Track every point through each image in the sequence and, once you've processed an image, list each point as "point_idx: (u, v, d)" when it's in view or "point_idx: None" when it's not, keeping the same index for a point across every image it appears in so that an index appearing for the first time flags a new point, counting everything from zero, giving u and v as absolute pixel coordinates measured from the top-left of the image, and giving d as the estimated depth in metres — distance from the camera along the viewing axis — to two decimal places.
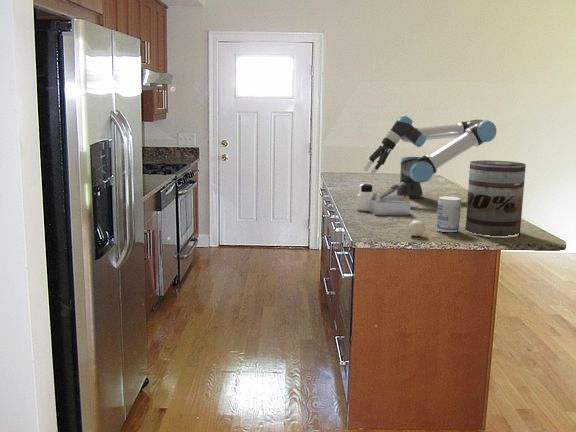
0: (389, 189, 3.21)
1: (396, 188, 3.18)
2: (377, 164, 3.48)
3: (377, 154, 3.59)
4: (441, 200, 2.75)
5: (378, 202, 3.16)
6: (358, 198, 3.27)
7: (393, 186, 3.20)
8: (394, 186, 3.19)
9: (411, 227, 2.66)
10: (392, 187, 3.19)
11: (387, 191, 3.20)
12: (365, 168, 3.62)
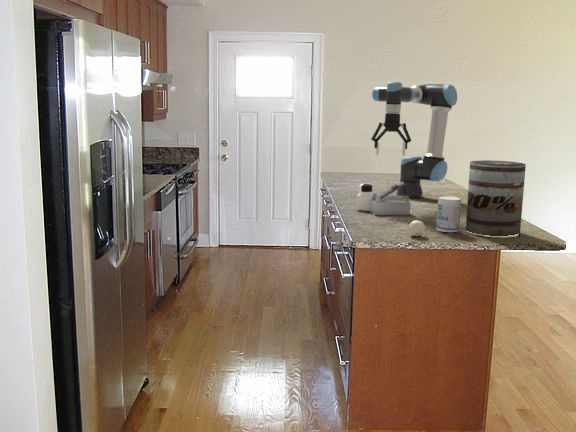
0: (389, 189, 3.21)
1: (396, 188, 3.18)
2: (405, 144, 3.30)
3: (384, 133, 3.28)
4: (441, 200, 2.75)
5: (378, 202, 3.16)
6: (358, 198, 3.27)
7: (393, 186, 3.20)
8: (394, 186, 3.19)
9: (411, 227, 2.66)
10: (392, 187, 3.19)
11: (387, 191, 3.20)
12: None
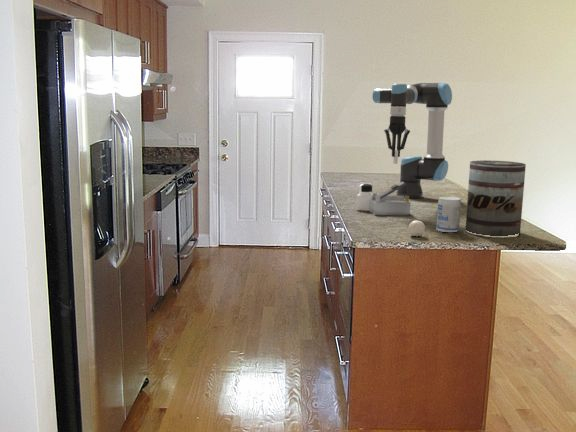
0: (389, 189, 3.21)
1: (396, 188, 3.18)
2: (398, 151, 3.22)
3: None
4: (441, 200, 2.75)
5: (378, 202, 3.16)
6: (358, 198, 3.27)
7: (393, 186, 3.20)
8: (394, 186, 3.19)
9: (411, 227, 2.66)
10: (392, 187, 3.19)
11: (387, 191, 3.20)
12: None
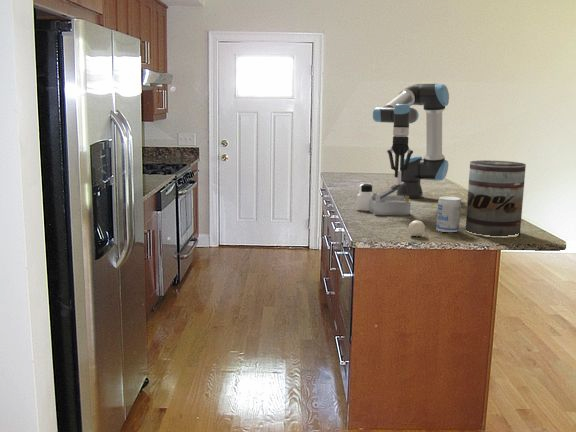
0: (389, 189, 3.21)
1: (396, 188, 3.18)
2: (401, 172, 3.18)
3: None
4: (441, 200, 2.75)
5: (378, 202, 3.16)
6: (358, 198, 3.27)
7: (393, 186, 3.20)
8: (394, 186, 3.19)
9: (411, 227, 2.66)
10: (392, 187, 3.19)
11: (387, 191, 3.20)
12: None
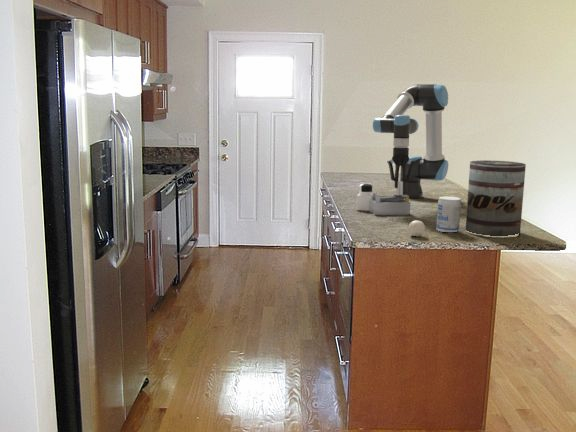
0: (391, 196, 3.22)
1: (399, 197, 3.19)
2: (403, 183, 3.19)
3: None
4: (441, 200, 2.75)
5: (378, 202, 3.16)
6: (358, 198, 3.27)
7: (396, 195, 3.21)
8: (397, 195, 3.20)
9: (411, 227, 2.66)
10: (395, 195, 3.20)
11: (389, 197, 3.20)
12: None
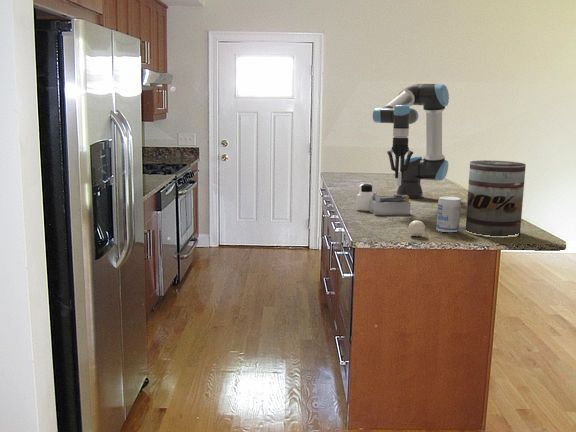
0: (391, 196, 3.22)
1: (399, 197, 3.19)
2: (401, 173, 3.19)
3: None
4: (441, 200, 2.75)
5: (378, 202, 3.16)
6: (358, 198, 3.27)
7: (396, 195, 3.21)
8: (397, 195, 3.20)
9: (411, 227, 2.66)
10: (395, 195, 3.20)
11: (389, 197, 3.20)
12: None
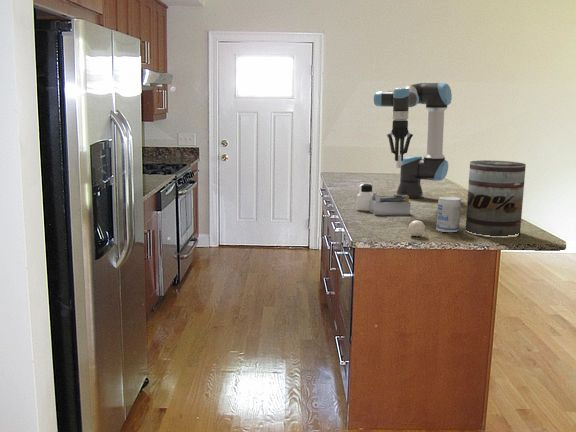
0: (391, 196, 3.22)
1: (399, 197, 3.19)
2: (401, 156, 3.22)
3: None
4: (441, 200, 2.75)
5: (378, 202, 3.16)
6: (358, 198, 3.27)
7: (396, 195, 3.21)
8: (397, 195, 3.20)
9: (411, 227, 2.66)
10: (395, 195, 3.20)
11: (389, 197, 3.20)
12: None
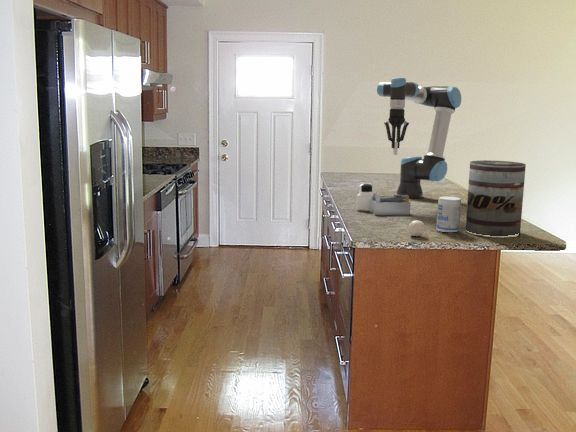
0: (391, 196, 3.22)
1: (399, 197, 3.19)
2: (397, 143, 3.34)
3: None
4: (441, 200, 2.75)
5: (378, 202, 3.16)
6: (358, 198, 3.27)
7: (396, 195, 3.21)
8: (397, 195, 3.20)
9: (411, 227, 2.66)
10: (395, 195, 3.20)
11: (389, 197, 3.20)
12: None
